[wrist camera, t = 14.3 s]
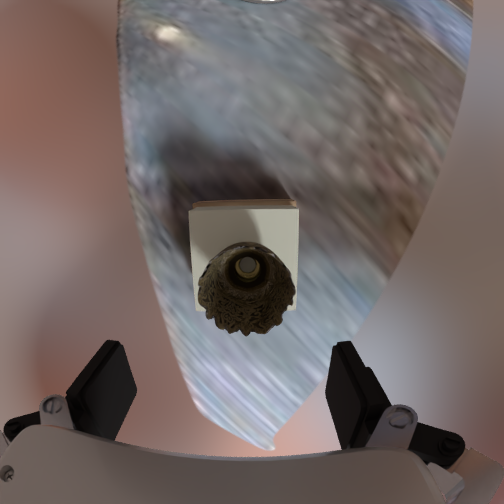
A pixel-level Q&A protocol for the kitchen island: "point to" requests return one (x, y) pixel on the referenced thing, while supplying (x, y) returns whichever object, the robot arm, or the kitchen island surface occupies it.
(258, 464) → the robot arm
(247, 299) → the dark brown tapered piece
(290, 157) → the kitchen island surface
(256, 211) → the tower top
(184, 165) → the kitchen island surface
